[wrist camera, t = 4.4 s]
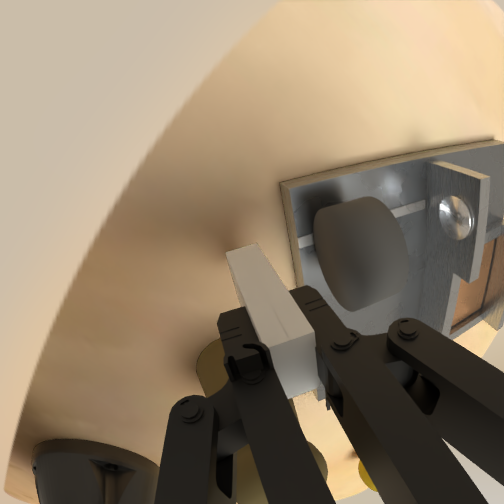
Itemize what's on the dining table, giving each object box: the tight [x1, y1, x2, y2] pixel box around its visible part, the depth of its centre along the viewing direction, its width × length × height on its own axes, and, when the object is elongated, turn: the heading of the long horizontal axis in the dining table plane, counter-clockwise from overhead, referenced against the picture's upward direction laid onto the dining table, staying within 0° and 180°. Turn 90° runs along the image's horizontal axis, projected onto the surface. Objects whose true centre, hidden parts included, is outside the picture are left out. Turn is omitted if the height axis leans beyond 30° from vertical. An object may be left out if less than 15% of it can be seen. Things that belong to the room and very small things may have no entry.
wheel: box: [313, 196, 409, 312], centre depth 15 cm, size 3×5×5 cm, turn 12°
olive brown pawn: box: [197, 338, 328, 504], centre depth 17 cm, size 6×6×11 cm
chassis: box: [280, 140, 504, 401], centre depth 19 cm, size 20×18×6 cm
